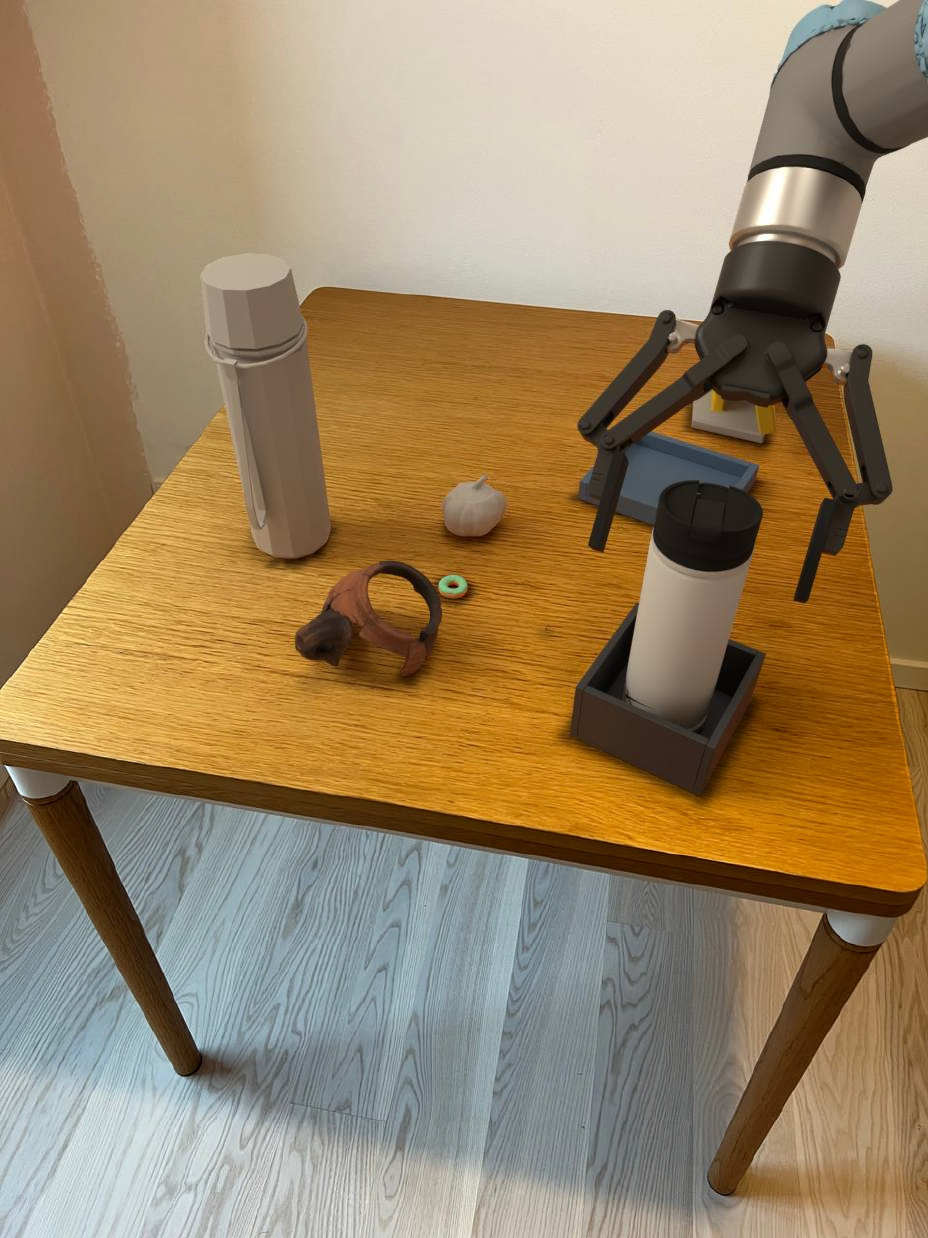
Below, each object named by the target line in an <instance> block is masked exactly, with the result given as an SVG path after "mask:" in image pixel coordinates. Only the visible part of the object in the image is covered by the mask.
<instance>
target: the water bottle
mask: <svg viewBox="0 0 928 1238" xmlns="http://www.w3.org/2000/svg"><path fill="white" fill-rule="evenodd" d="M199 277H200V287H201V297H202V305H203V306H202V307H203V314H204V315H203V316H204V325H205V331H206V333H205V337H204V340H203V341H204V343H203V344H204V346H205V347H204V348H205V350H206V353H207V354H208V356H210V358H211V359H212V360H213V361H214V362H215V365H216V370H217V374H218V379H219V383H220V389H221V393H222V398H223V403H224V408H225V412H226V416H227V422H228V426H229V431H230V436H231V441H232V446H233V450H234V455H235V460H236V465H237V470H238V474H239V479H240V485H241V489H242V494H243V499H244V505H245V510H246V513H247V517H248V522H249V527H250V531H251V537H252V539H253V541H254V543H255V545H256V547H257V549H258V550H259V551H261V552H263V553H264V554H267V555H270V556H271V557H274V558H276V559H289V560H296V559H300V558H303V557H307V556H309V555H310V556H311V555H313V554H314V553H315V552H317V551H318V550H320V548H322V547H323V546H324V545H325V544H326V543H328V540H329V537H330V534H331V531H332V523H331V514H330V508H329V501H328V500H329V499H328V492H327V486H326V485H327V483H326V477H325V470H324V462H323V455H322V447H321V439H320V432H319V425H318V424H319V423H318V416H317V408H316V401H315V394H314V385H313V378H312V370H311V365H310V364H311V363H310V355H309V348H308V341H307V336H308V330H309V326H308V324H307V321H306V319H305V317H304V316H303V313H302V309H301V305H300V301H299V297H298V293H297V289H296V285H295V281H294V276H293V271H292V268H291V266H290V265H289V263H288V262H287V260H285V258H282V257H279V256H276V255H272V254H270V253H253V252H252V253H251V252H245V253H240V254H233V255H228V256H227V255H226V256H222V257H220V258H219V259H217V260H215V261H211V262H210V263H208V264H206V265H205V267H204V268H203V270H201V272H200V274H199ZM210 340H211V342H212V348H211V344H210Z"/></svg>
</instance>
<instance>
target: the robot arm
mask: <svg viewBox="0 0 928 1238" xmlns="http://www.w3.org/2000/svg"><path fill="white" fill-rule="evenodd" d="M785 45H786V46H785V49H784V51H783V54H782V57H781V60H780V62H779V63H778V65H777V70H776V72H775V73H774V74H773V77H772V82H770V87H769V93H768V94H769V96H768V99H767V103H766V107H765V111H764V114H763V117H762V122H761V126H760V129H759V133H758V137H757V141H756V144H755V147H754V152H753V155H752V159H751V162H750V165H749V171H748V174H747V181H746V183H745V185H744V187H743V189H742V194H741V197H740V201H739V205H738V209H737V211H736V216H735V219H734V223H733V226H732V231H731V234H730V237H729V240H728V241H729V242H728V247H729V252H728V253H726V255H725V256H724V259H723V262H722V265H721V269H720V272H719V276H718V280H717V283H716V286H715V290H714V293H713V296H712V297H713V298H712V301H711V305H710V308H709V311H708V314H707V316H706V317H705V318H704V320H703V321H702V322H701V323H700V324H697V323H694V322H689V321H687V320H683V319H680V318H677V317H676V314H675V312H674V311H672V310H671V309H664V310H662V311H661V312H660V313H659V314H658V315H657V318H656V320H655V323H654V325H653V328H652V330H651V332H650V335H649V337H648V340H647V341H646V342H645V343H644V344H643V345H642V347H641V348H640V349H639V350H638V351H637V352H636V354H634V356H633V357H632V358H631V359H630V361H628V363H626V365H625V366H624V367H623V369H622V370H621V371H620V372H619V373H618V374H617V376H615V378H614V379H613V380H612V381H611V382H610V383H609V385H608V386H607V387H606V388H605V389H604V390H603V391H602V393H601V394H600V395H599V396H598V398H597V399H596V400H594V402H593V403H592V405H591V406H590V407H589V408H588V409H587V410H586V411H585V412H584V414H583V415H582V416H581V417H580V418H579V419H578V421H577V424H576V428H577V430H578V432H579V434H580V435H581V437H582V439H583V440H584V441H585V442H587V443H590V444H591V445H592V446H594V447H596V449H597V454H596V457H595V461H594V464H593V466H594V468H593V471H592V475H591V479H590V482H589V486H588V491H589V496H590V497H591V498H592V499H596V500H600V503H599V506H598V507H597V512H596V514H595V518H594V521H593V525H592V529H591V532H590V534H589V535H590V536H589V539H588V543H587V546H588V547H589V548H590V549H591V550H592V551H594V552H595V551H596V552H599V553H604V552H605V550H606V546H607V542H608V538H609V535H610V531H611V528H612V524H613V520H614V517H615V513H616V512H615V510H616V507H617V503H618V500H619V496H620V493H621V489H622V485H623V482H624V478H625V475H626V471H627V468H628V464H629V461H628V459H627V457H626V454H625V453H622V452H623V451H625V450H626V449H627V448H629V447H630V446H631V445H633V444H634V443H636V442H637V441H638V440H640V439H641V438H643V437H644V436H645V435H647V434H648V433H650V432H651V431H652V432H653V431H654V430H655V429H657V428H658V427H660V426H661V425H662V424H664V423H665V422H667V421H668V420H670V419H671V418H672V417H674V416H675V415H677V414H678V413H679V412H681V411H682V410H683V409H685V408H686V407H688V406H689V405H691V403H693V401H696V400H698V399H700V398H701V397H703V396H704V395H706V394H707V393H708V392H710V391H711V390H714V392H715V393H717V394H718V395H720V396H721V399H725V400H730V401H740V400H745V401H748V402H750V403H752V404H754V405H756V406H761V407H766V408H768V406H769V405H775V406H776V405H778V404H782V406H783V408H784V410H785V412H786V414H787V416H788V418H789V420H791V422H792V423H793V425H794V427H795V428H796V430H797V433H798V434H799V436H800V438H801V440H802V442H803V444H804V446H805V448H806V450H807V452H808V454H809V456H810V458H811V460H812V461H813V464H814V465H815V467H816V469H817V472H818V473H819V475H820V477H821V479H822V480H823V483H824V484H825V486H826V489H827V490H828V492H829V494H830V496H831V498H829V497H824V498H823V500H822V502H821V503H820V504H819V508H818V511H817V515H816V518H815V522H814V525H813V529H812V532H811V535H810V540H809V543H808V546H807V548H806V549H807V550H806V553H805V556H804V559H803V564H802V567H801V571H800V574H799V577H798V581H797V585H796V589H795V591H794V595H793V599H792V602H796V603H801V604H806V603H808V602H809V601H810V596H811V593H812V590H813V586H814V583H815V580H816V576H817V572H818V568H819V565H820V561H821V558H822V554H824V555H828V556H832V557H836V556H837V555H838V554H839V553H840V552H841V551H842V550H843V548H844V546H845V543H846V538H847V536H848V532H849V529H850V525H851V522H852V518H853V515H854V511H855V509H857V508H858V507H861V506H868V505H873V506H877V505H881V504H883V503H884V501H886V500H887V499H888V498H889V497H890V496H891V494H892V493H893V488H894V487H893V481H892V477H891V473H890V469H889V465H888V461H887V456H886V452H885V448H884V443H883V439H882V434H881V429H880V425H879V421H878V416H877V413H876V412H877V411H876V408H875V404H874V400H873V399H874V398H873V394H872V390H871V386H870V382H869V380H870V372H871V367H872V360H873V349H872V347H871V346H870V345H868V344H865V343H862V344H858V345H856V346H854V348H853V349H848V348H832V347H827V343H826V332H827V328H828V325H829V322H830V318H831V314H832V311H833V307H834V303H835V301H836V297H837V294H838V290H839V287H840V284H841V278H842V275H841V272H840V270H841V268H843V267H844V266H845V263H846V261H847V257H848V254H849V250H850V247H851V245H852V240H853V236H854V234H855V230H856V228H857V224H858V219H859V216H860V214H861V210H862V205H863V203H864V200H865V196H866V193H867V192H866V191H867V185H868V184H869V180H870V176H871V174H872V172H873V167H874V165H875V163H876V161H877V160H879V159H880V158H883V157H885V156H887V155H889V154H892V153H895V152H898V151H899V150H902V149H905V148H907V147H909V146H911V145H913V144H916V143H917V142H919V141H922V140H925V139H927V138H928V0H897V1H896V2H894V3H893V4H891V5H890V6H888V7H886V6H885V5H883V4H880V3H877V2H874V1H871V0H841V1H840V2H839V4H836V5H831V4H828V3H826V4H821V5H819V6H817V7H815V8H813V9H812V10H810V11H809V12H807V13H806V14H805V15H803V17H802V18H800V19H799V20H798V22H797V23H796V25H794V27H793V28H792V30H791V33H790V34H789V37H788V39H787V42H786V44H785ZM688 344H694V349H695V352H696V353H697V357H698V358H699V360H698V362H697V363H695V364H693V365H692V366H691V367H689V368H688V369H687V370H686V371H684V372H683V374H682V376H680V377H679V378H678V379H676V380H675V381H673V383H672V382H671V384H670V385H668V386H667V387H666V388H664V389H663V390H661V391H660V392H659V393H657V394H655V395H654V396H653V397H652V398H649V400H648V401H646V402H644V403H643V404H642V405H640V406H639V407H638V408H636V409H634V410H633V411H632V412H630V414H628V415H627V416H625V417H624V418H623V419H621V420H620V421H618V422H617V423H615V424H614V425H613V426H612V427H610V428H609V426H610V425H611V424H612V423H613V422H614V421H615V420H616V419H617V417H618V416H619V415H620V414H621V413H622V412H623V410H624V409H625V408H626V407H627V406H628V405H629V404H630V402H631V401H632V400H633V399H634V398H635V397H636V396H637V394H638V393H639V392H640V391H641V390H642V388H643V387H645V385H646V384H647V383H648V382H649V381H650V379H651V378H652V377H653V376H654V375H655V374H656V373H657V371H658V370H659V369H660V368H661V367H662V365H663V364H664V363H665V361H666V359H667V358H668V356H669V354H671V355H672V354H674V355H675V354H677V353H679V352H680V351H681V350H682V349H683V347H685V345H688ZM823 368H824V369H827V370H829V371H830V372H831V375H832V380H833V382H834V383H835V384H836V385H838V386H843V402H844V406H845V411H846V415H847V420H848V424H849V428H850V432H851V434H850V435H851V439H852V442H853V443H852V444H853V446H854V447H853V448H854V451H855V455H856V461H857V464H858V469H859V474H860V478H861V482H857V481H856V480H855V478H854V477H853V475H852V473H851V471H850V469H849V467H848V465H847V463H846V461H845V459H844V457H843V456H842V453H841V452H840V449H839V447H838V446H837V444H836V442H835V440H834V438H833V436H832V434H831V432H830V431H829V428H828V427H827V425H826V423H825V421H824V419H823V418H822V415H821V413H820V412H819V409H818V408H817V406H816V403H815V402H814V398H813V395H812V392H811V390H810V389H809V387H808V385H807V382H808V381H810V380H811V379H812V378H813V377H815V376H816V375H817V374H818V373H819V372H820V371H821V370H822V369H823ZM608 428H609V429H608Z"/></svg>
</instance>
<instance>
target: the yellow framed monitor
mask: <svg viewBox="0 0 928 1238" xmlns="http://www.w3.org/2000/svg"><path fill="white" fill-rule="evenodd" d="M690 424H691V428H692V429H695V430H700V431H704V432H709V433H713V434H717V435H721V436H725V437H731V438H735V439H740V440H744V441H749V442H753V443H757V444H763V443H764V441H765V437H766V435H770V434H775V433H776V432H777V418H776V404H775V405H769V406H768V408H766V407H761V406H756V405H754V404H752V403H750V402H748V401H745V400H740V401H730V400H725V399H721V396H720V395H718V394H717V393H715V392H714V390H711V391H710V392H708V393H707V394H706V395H704V396H703V397H701V398H700V399H698V400H696V401H693V402H692V414H691V423H690Z"/></svg>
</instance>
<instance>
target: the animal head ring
mask: <svg viewBox="0 0 928 1238" xmlns="http://www.w3.org/2000/svg"><path fill="white" fill-rule="evenodd" d="M378 575H391V576H396V577H399V578H402V579H403V580H404V579H405V580H406V581H408V582H409V583H410V584H411V585H412V587H413V591H414V592H415V593H417V594H418V595H420V596H421V598H422V599H423V600H424V602H425V604H426V605H427V608H428V611H429V617H428V618H429V619H428V623H427V624H426V626H424V627H423V628H421V629H420V631H419V634H418V638H417V639H414V637H413V634H412V632H411V631H408V630H404V629H401V628H396V627H394V626H393V625H390V624H389V623H388V622H387V621H385V620H384V619H383V618H382V617H381V616H380V615H379V614H378V613H377V612H376V611H375V610H374V608H373V606H372V603H371V601H370V597H369V583H370V581H371V579H372V578H373V577H375V576H378ZM438 593H439V592H438V591H437V588H436V587H435V586H434V584H433V583H432V581H431V580H430V579H429V577H427V576H426V575H425V574H424V573H422V571H420V570H418V569H417V568H416V567H413V566H412V565H411V564H408V563H405V562H404V561H400V560H399V561H398V560H392V559H391V560H389V559H388V560H381V561H379V562H376V563H373V564H370V565H369V566H368V567H367V568H361V569H356V570H353V571H351V572H349V573H347V574H346V575H345V576H344V575H343V577H341V579H339V580H338V581H337V582H336V583H335V584H334V585H333V586H332V587H331V589H330V590H329V591H328V595H327V596H326V598H325V600H324V603H323V606H322V609H321V611H320V614H317V615H316V616H315V618H313V619H311V620H310V621H309V622H308V623H306V624H305V625H302V626H301V627H300V628H298V629H297V631H296V632H295V634H294V646H295V647H294V648H295V650H296V652H298V653H299V654H300V655H301V657H302V658H304V659H306V660H309V661H315V662H316V661H318V662H320V661H323V662H324V663H326V664H328V665H329V666H331V667H335V668H336V667H338V666H339V665H340V660H341V657H342V655H343V654H344V652H345V650H347V649H348V648H349V647H350V645H352V641H353V638H354V634H355V626H354V625H357V626H358V627H360V628H361V629H360V631H359V633H358V636H359V637H360V638H361V639H363V640H365V641H367V642H369V643H370V644H373V645H374V646H376V647H378V648H381V649H383V650H387V651H388V652H389V653H392V654H396V655H399V656H404V657H405V658H404V663H403V665H402V667H401V668H400V670H399V674H400V675H401V677H406V676H409V675H412V674H414V673H416V672H417V670H418V669H419V668H420V667H421V666H422V665H423V662H424V661H425V660H427V659H428V658H429V657H430V656H431V654H432V651H433V649H434V647H435V644H436V641H437V639H438V635H439V627H440V626H441V623H442V620H443V608H442V602H441V597H440V596H439V594H438Z"/></svg>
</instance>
